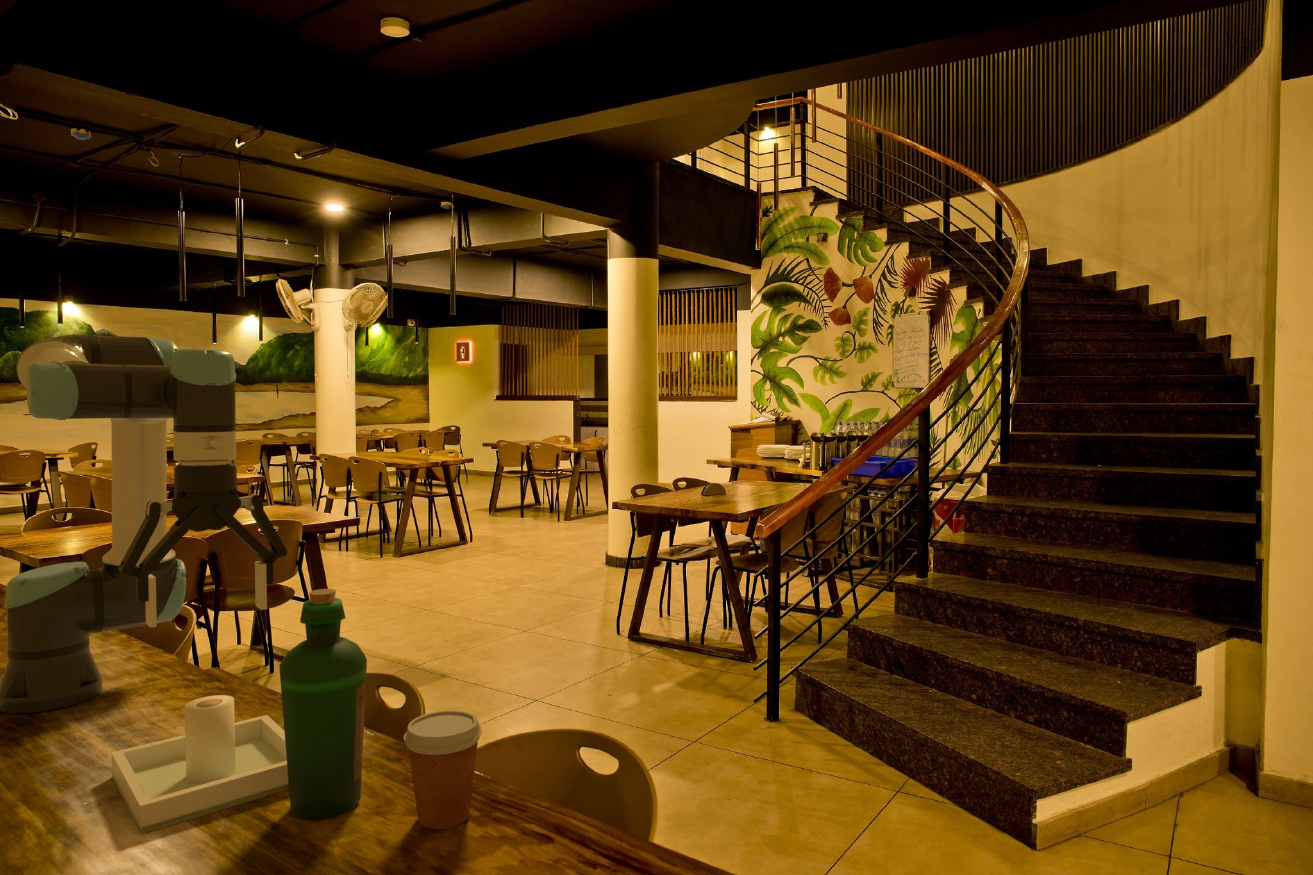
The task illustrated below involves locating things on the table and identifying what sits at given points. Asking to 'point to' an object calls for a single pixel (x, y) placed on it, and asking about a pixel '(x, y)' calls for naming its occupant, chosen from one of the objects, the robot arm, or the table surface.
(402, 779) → the table surface
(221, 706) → the kitchen roll
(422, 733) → the disposable coffee cup
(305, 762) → the bottle
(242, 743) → the rectangular tray
